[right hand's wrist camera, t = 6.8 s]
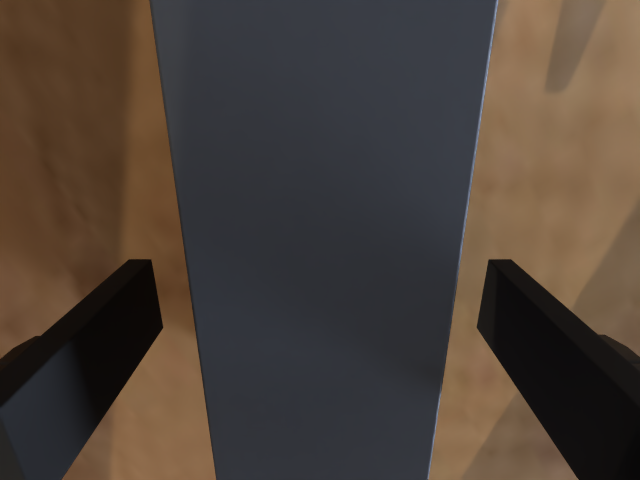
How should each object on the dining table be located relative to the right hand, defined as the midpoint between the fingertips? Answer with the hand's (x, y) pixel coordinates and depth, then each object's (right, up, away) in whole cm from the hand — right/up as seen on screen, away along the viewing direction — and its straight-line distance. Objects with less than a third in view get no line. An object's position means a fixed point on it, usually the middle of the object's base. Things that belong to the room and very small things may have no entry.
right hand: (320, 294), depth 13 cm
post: (0, +25, -7) cm, 26 cm away
